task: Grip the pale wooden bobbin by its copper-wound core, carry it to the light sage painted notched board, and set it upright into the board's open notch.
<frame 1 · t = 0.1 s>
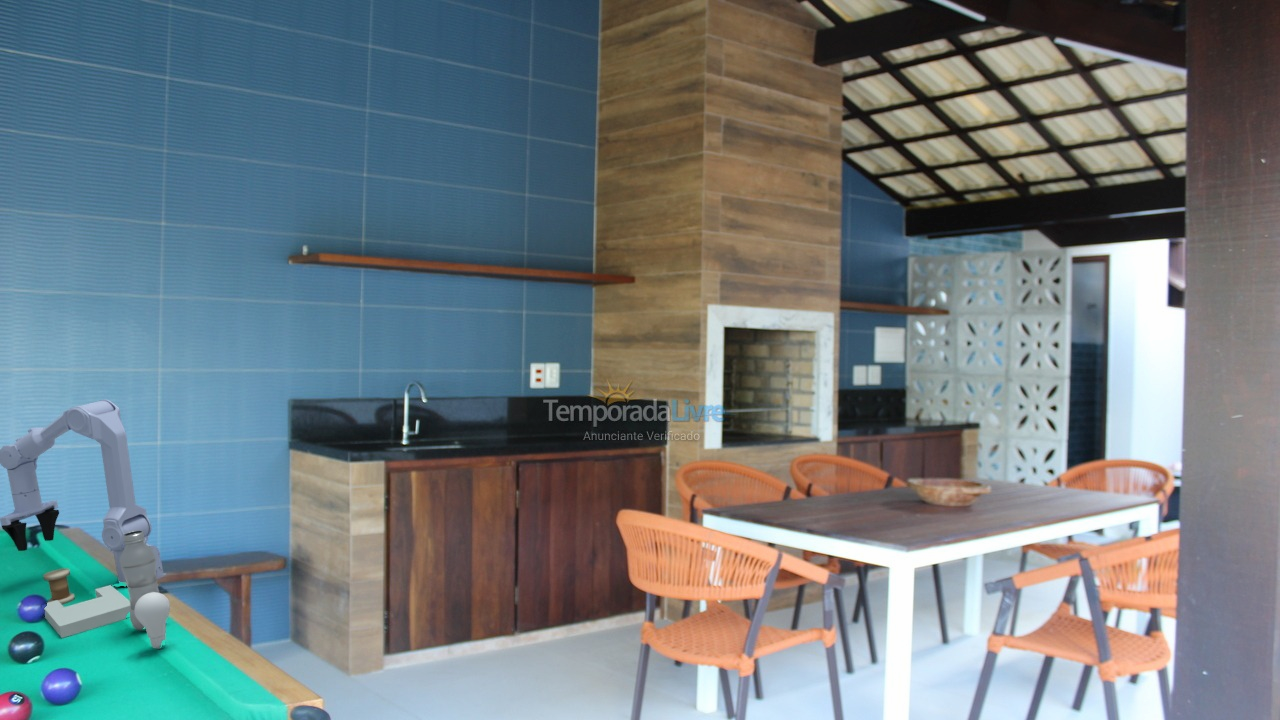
hand: (36, 545, 243), 10 cm above the table, fingers open, 7 cm apart
notched board: (88, 615, 215), on the table
plastic bottle: (150, 628, 202), on the table
bobbin: (62, 601, 228), on the table
lightbulb: (159, 649, 189), on the table
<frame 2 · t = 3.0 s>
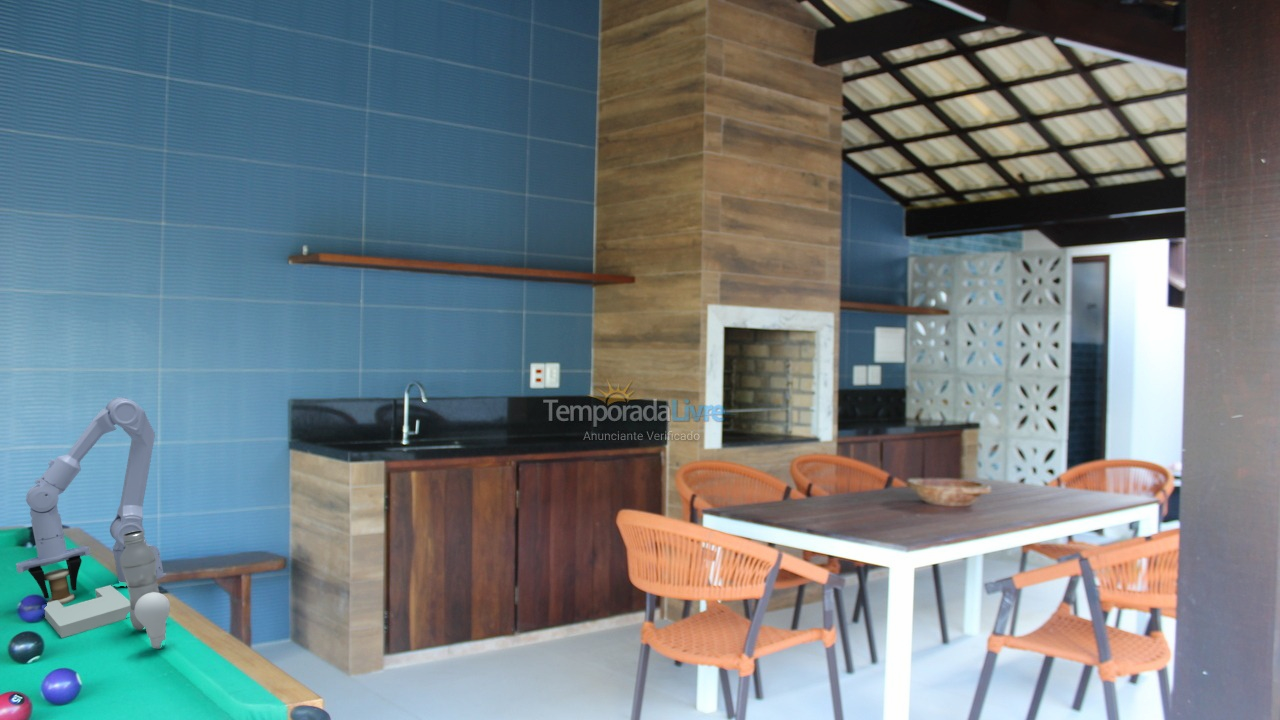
hand: (60, 593, 228), 2 cm above the table, fingers closed on bobbin, 5 cm apart
bobbin: (62, 601, 228), on the table, touching gripper
everything else where it was.
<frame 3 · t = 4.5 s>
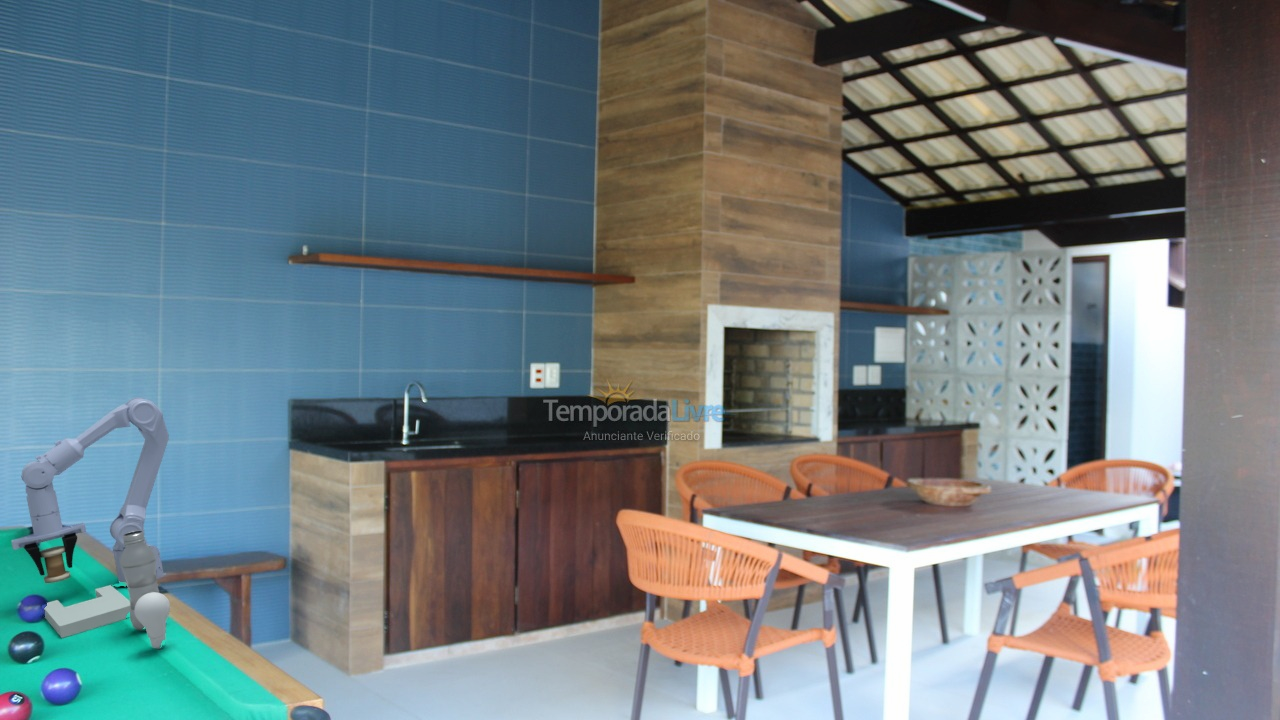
hand: (56, 570, 227), 7 cm above the table, fingers closed on bobbin, 5 cm apart
bobbin: (57, 579, 227), point 5 cm above the table, touching gripper
everything else where it was.
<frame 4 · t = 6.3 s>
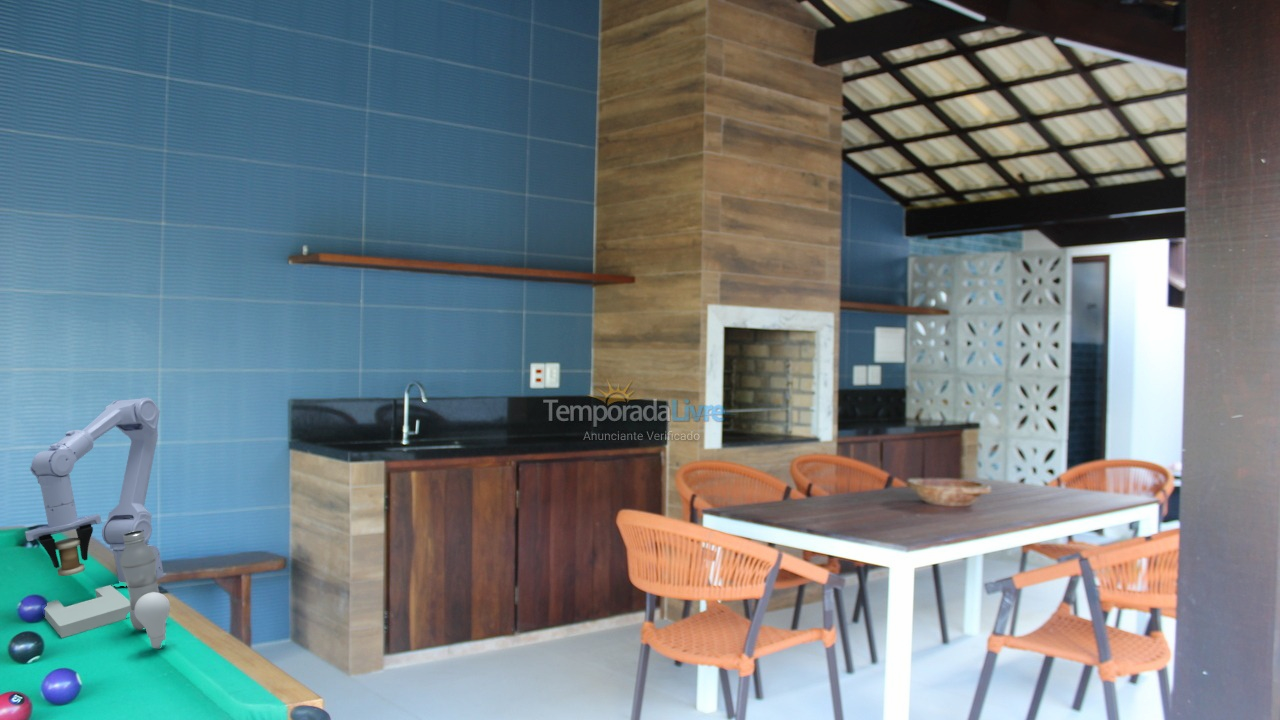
hand: (70, 563, 220), 10 cm above the table, fingers closed on bobbin, 5 cm apart
bobbin: (71, 571, 220), point 8 cm above the table, touching gripper
everything else where it was.
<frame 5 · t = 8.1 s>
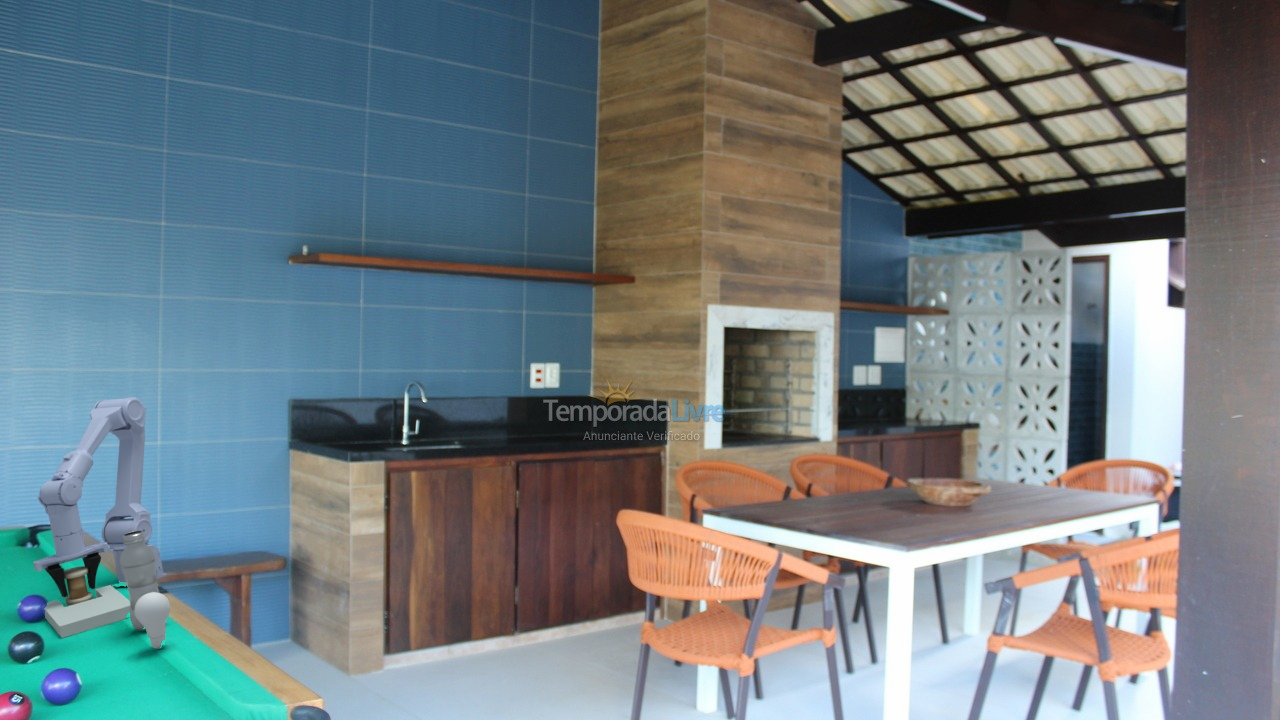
hand: (78, 592, 220), 4 cm above the table, fingers closed on bobbin, 5 cm apart
bobbin: (79, 600, 220), point 2 cm above the table, touching gripper
everything else where it was.
when the fingers open (3 cm above the table, at t = 9.5 s): bobbin drops 1 cm, on the table.
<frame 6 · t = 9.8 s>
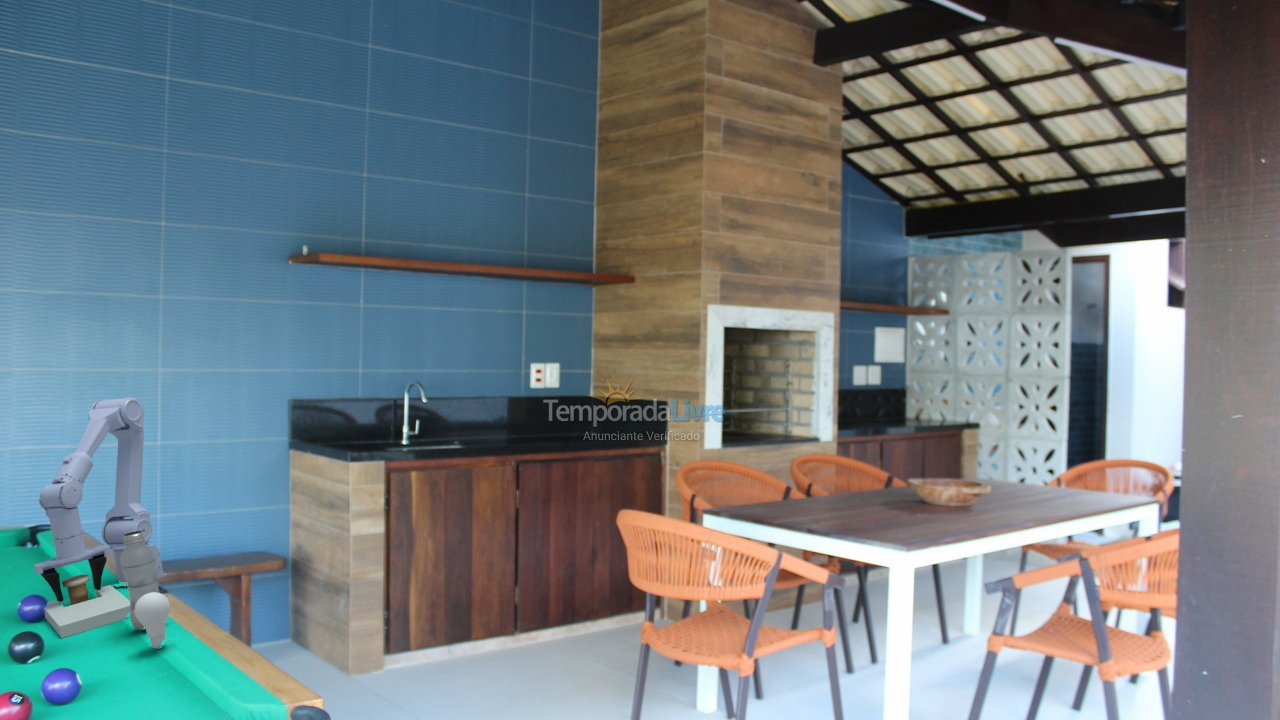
hand: (79, 595, 220), 3 cm above the table, fingers open, 7 cm apart
bobbin: (81, 608, 221), on the table
everything else where it was.
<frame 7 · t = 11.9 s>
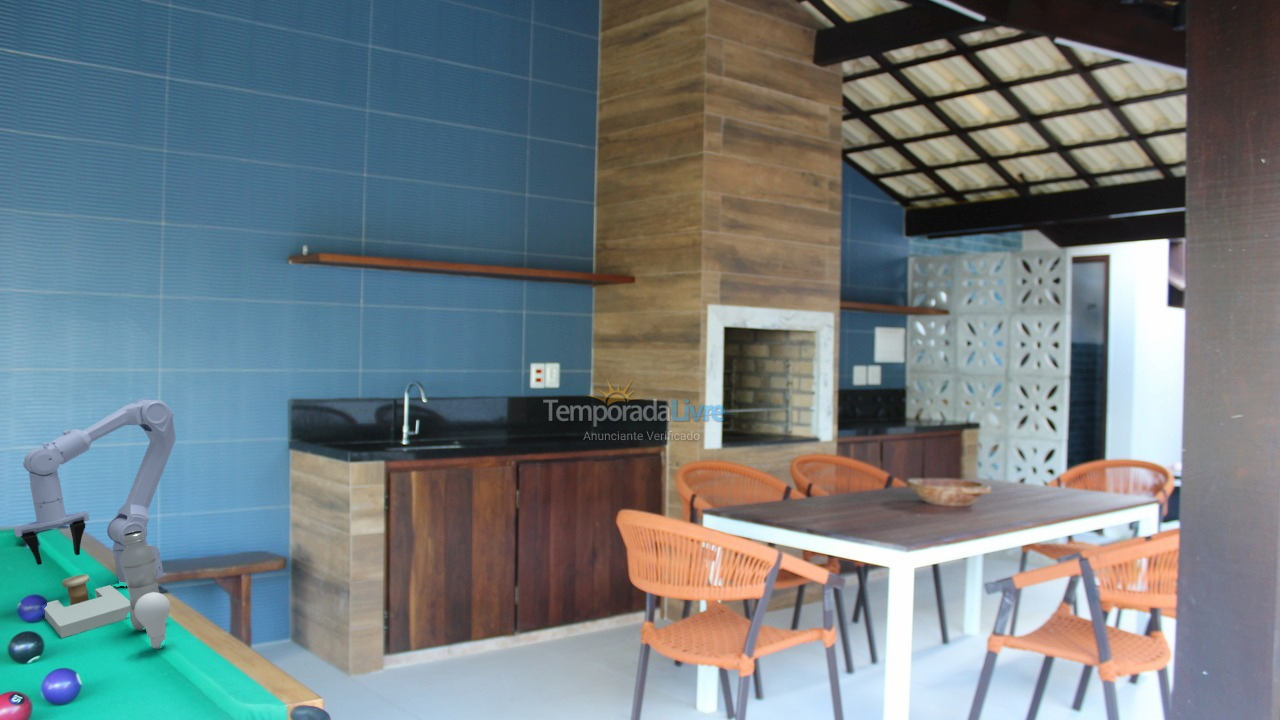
hand: (58, 559, 225), 10 cm above the table, fingers open, 7 cm apart
nothing on the table moved.
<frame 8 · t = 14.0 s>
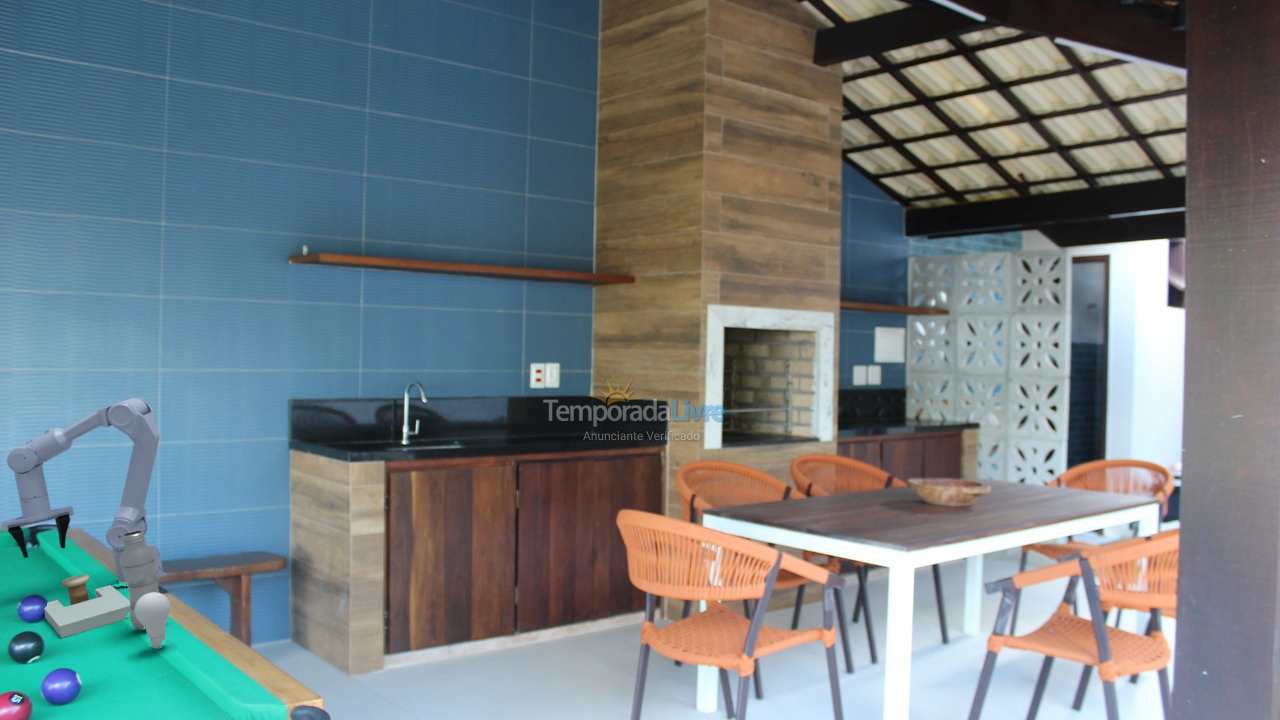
hand: (44, 552, 233), 10 cm above the table, fingers open, 7 cm apart
nothing on the table moved.
at the end: bobbin 0.3 cm from the target spot, on the table; bobbin tilted 0°; the gripper is holding nothing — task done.
